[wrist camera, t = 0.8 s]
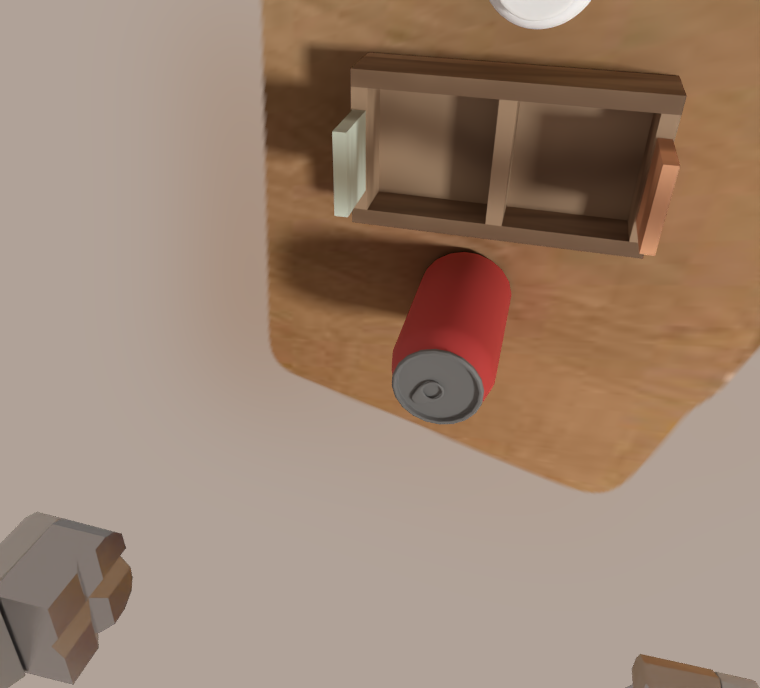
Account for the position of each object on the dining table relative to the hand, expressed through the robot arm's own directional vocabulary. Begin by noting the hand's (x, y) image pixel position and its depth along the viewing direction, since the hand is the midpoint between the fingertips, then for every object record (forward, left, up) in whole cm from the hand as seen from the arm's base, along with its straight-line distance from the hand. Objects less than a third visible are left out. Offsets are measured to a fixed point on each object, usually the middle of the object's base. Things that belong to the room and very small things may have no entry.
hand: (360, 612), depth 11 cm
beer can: (+17, -2, -38) cm, 41 cm away
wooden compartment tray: (+6, -1, -37) cm, 38 cm away
